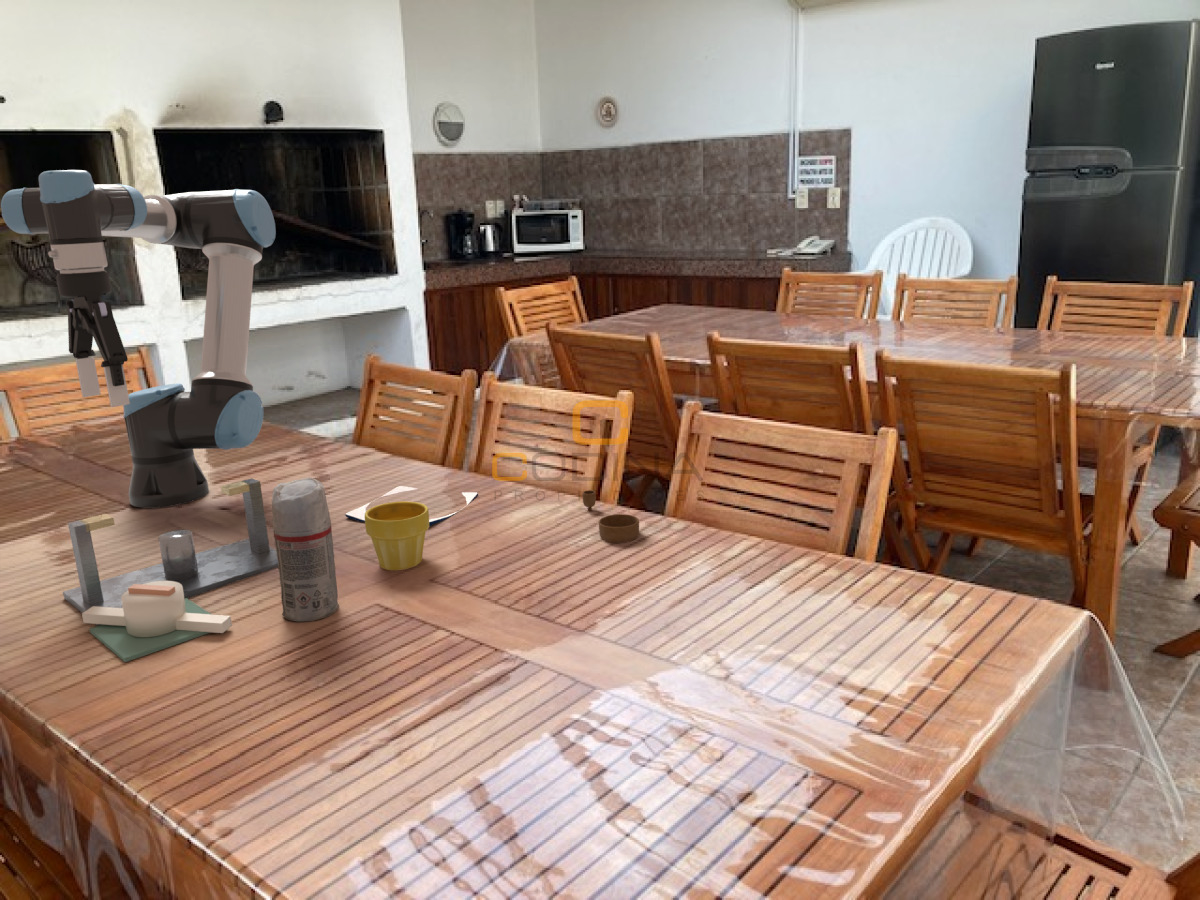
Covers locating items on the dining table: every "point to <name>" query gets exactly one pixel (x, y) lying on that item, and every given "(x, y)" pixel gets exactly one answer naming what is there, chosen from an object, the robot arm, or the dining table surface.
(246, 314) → the robot arm
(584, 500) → the place setting
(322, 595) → the spray can
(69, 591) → the grey frame
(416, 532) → the plant pot
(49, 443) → the dining table surface
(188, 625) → the cream crossbar with hub
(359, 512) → the plate
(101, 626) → the mat
